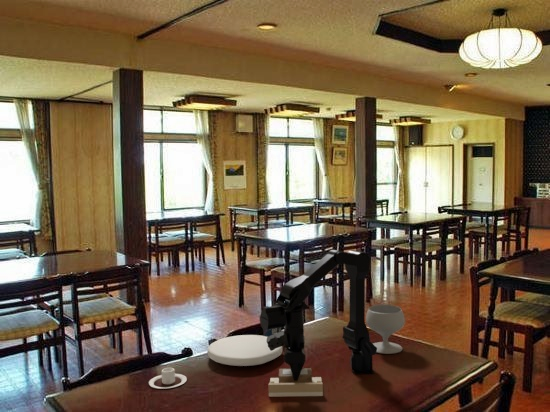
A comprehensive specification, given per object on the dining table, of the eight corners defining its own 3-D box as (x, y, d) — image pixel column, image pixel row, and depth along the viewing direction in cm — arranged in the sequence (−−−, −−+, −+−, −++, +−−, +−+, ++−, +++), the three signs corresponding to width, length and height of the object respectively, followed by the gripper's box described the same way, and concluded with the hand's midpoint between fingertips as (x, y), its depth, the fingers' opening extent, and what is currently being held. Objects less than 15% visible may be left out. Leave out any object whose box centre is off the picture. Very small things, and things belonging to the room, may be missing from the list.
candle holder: (149, 393, 163) (148, 379, 162) (148, 378, 174) (147, 365, 174) (188, 387, 166) (188, 374, 165) (184, 373, 177) (184, 361, 177)
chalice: (379, 340, 204) (379, 301, 203) (412, 348, 194) (412, 307, 193) (358, 349, 194) (358, 309, 193) (392, 358, 184) (391, 316, 183)
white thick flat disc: (221, 331, 206) (288, 333, 201) (221, 347, 206) (288, 351, 201) (196, 347, 179) (273, 351, 173) (196, 367, 179) (273, 371, 173)
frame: (311, 379, 166) (311, 367, 165) (312, 387, 160) (311, 375, 159) (279, 379, 166) (279, 368, 166) (279, 387, 160) (278, 375, 160)
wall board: (321, 380, 167) (320, 369, 167) (323, 395, 156) (322, 384, 156) (270, 381, 168) (270, 370, 167) (268, 396, 157) (268, 384, 156)
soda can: (262, 337, 211) (261, 308, 210) (279, 335, 213) (278, 306, 212) (266, 343, 204) (265, 312, 203) (283, 341, 206) (282, 310, 205)
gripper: (269, 316, 171) (270, 363, 172) (266, 334, 152) (267, 387, 154) (303, 315, 171) (304, 362, 172) (304, 334, 152) (306, 387, 153)
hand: (295, 374), depth 163 cm, fingers open, 9 cm apart
